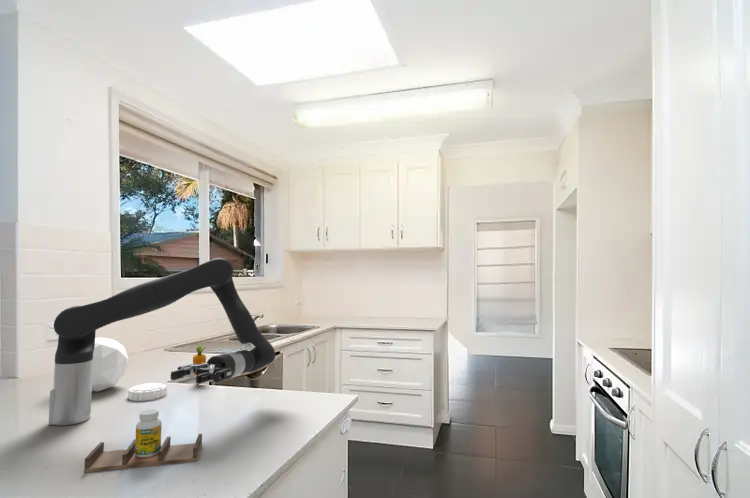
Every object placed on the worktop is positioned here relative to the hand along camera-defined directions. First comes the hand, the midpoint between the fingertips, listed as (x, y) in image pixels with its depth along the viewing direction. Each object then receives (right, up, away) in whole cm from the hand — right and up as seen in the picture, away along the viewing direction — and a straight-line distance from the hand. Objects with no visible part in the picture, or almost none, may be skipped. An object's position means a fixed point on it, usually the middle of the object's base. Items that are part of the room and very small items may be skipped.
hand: (184, 377), depth 110 cm
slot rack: (-4, -15, -11) cm, 19 cm away
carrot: (-19, -19, +55) cm, 61 cm away
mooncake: (-30, -19, +39) cm, 53 cm away
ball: (-53, -19, +46) cm, 73 cm away
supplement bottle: (-4, -15, -11) cm, 19 cm away
